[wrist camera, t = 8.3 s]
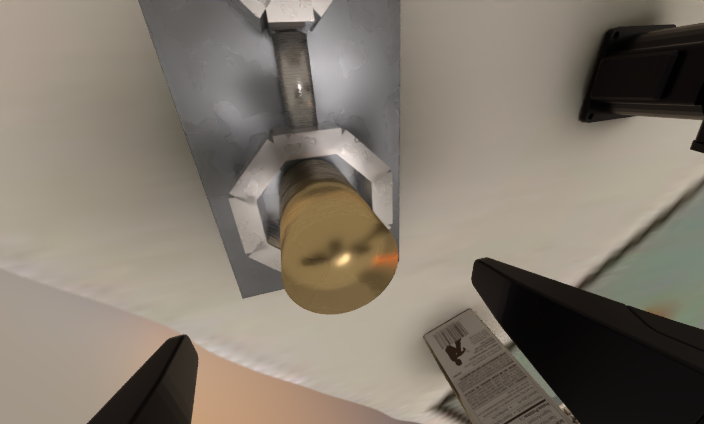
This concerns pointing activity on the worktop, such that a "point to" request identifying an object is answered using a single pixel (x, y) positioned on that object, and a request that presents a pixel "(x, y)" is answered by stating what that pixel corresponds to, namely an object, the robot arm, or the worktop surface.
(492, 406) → the coffee box
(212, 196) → the manifold
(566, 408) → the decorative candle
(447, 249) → the worktop surface
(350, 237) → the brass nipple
